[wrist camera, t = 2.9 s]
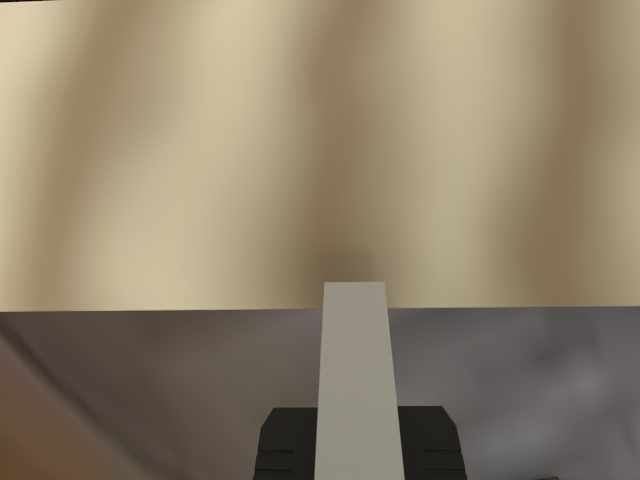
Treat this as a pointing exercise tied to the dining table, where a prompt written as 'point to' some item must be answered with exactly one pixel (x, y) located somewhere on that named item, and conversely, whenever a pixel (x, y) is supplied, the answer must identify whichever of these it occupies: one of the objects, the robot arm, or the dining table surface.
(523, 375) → the dining table surface
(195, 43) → the plank
